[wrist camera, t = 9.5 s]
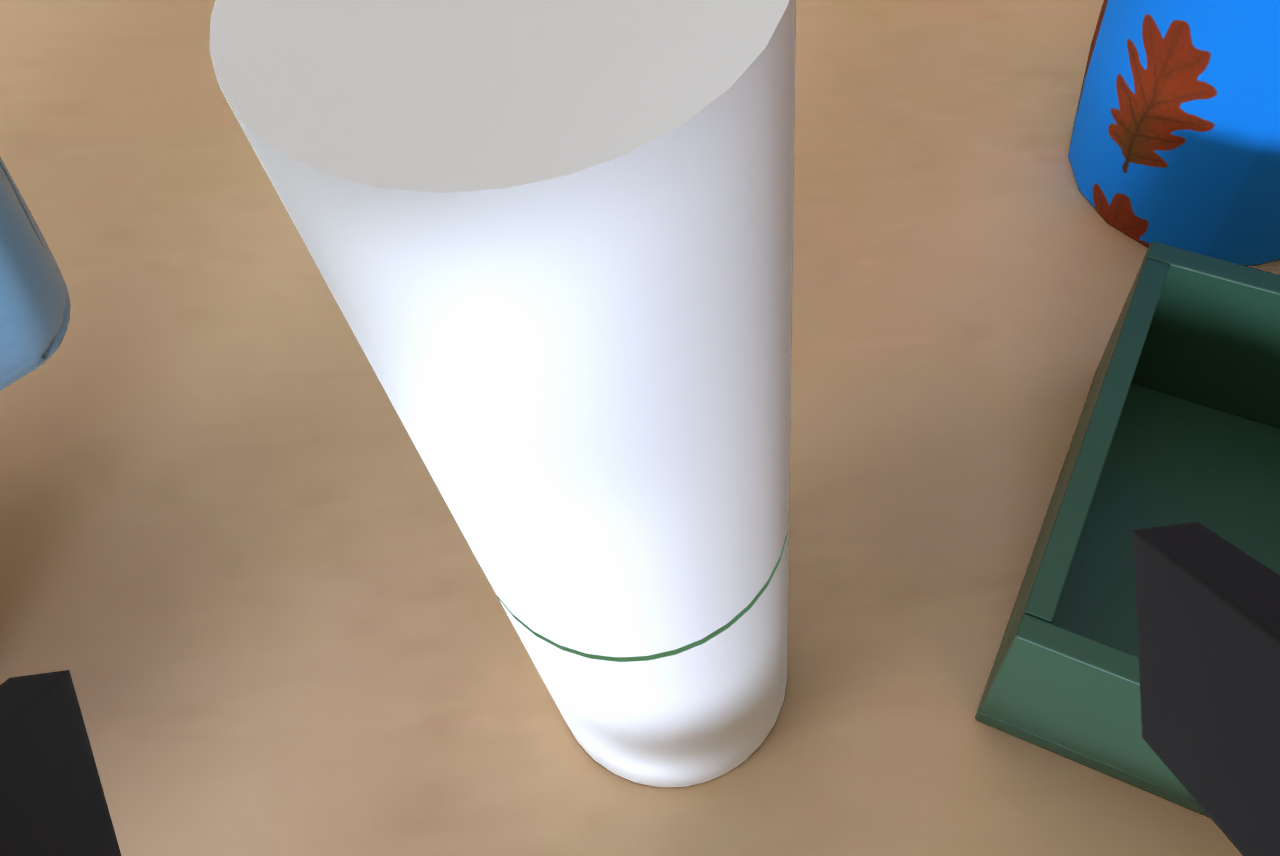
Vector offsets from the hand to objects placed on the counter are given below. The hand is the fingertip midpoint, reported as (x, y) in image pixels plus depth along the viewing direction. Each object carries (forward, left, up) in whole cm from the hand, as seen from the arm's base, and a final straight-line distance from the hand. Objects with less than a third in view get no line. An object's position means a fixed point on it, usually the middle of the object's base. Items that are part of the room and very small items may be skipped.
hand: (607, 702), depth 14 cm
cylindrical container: (+6, +4, -20) cm, 22 cm away
